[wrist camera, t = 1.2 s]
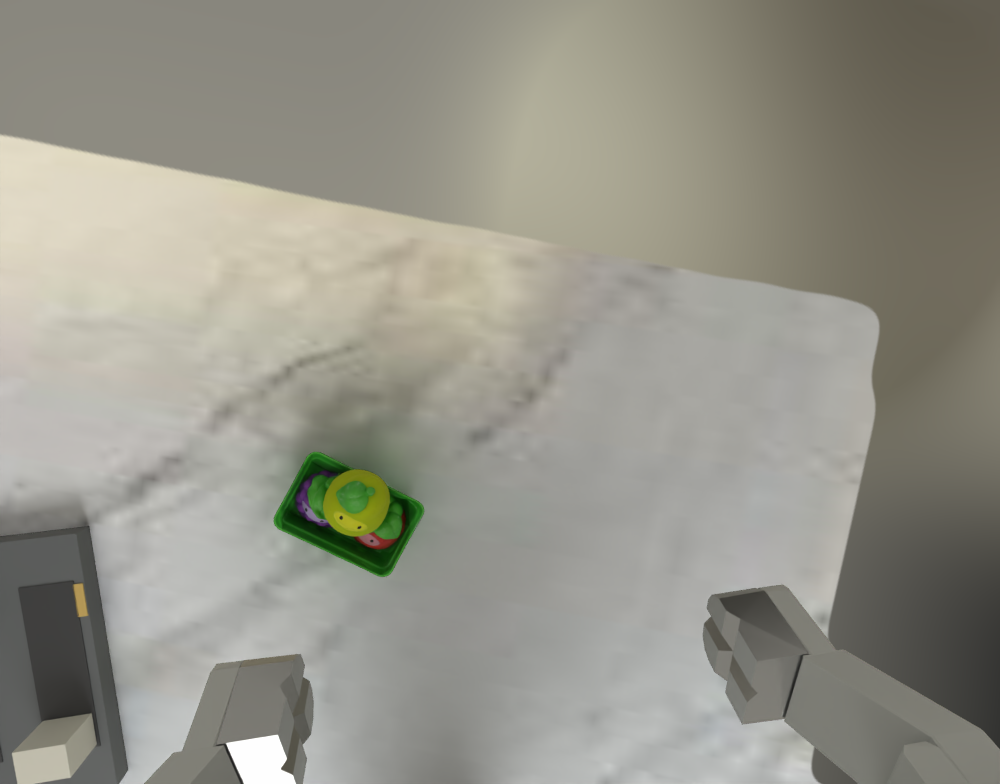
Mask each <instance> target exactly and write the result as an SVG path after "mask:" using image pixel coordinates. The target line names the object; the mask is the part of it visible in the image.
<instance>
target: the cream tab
mask: <svg viewBox="0 0 1000 784" xmlns="http://www.w3.org/2000/svg"><path fill="white" fill-rule="evenodd" d="M96 745H97V742H96V736H95V730H94V724H93V718H92V713H90V714H84V715H77V716H71V717H65V718H59V719H52V720H46V721H42V722H41V723H40V724H39V725H38V726H37V728H36V729H35V730H34V731H33V732H32V733H31V734H30V735H29V736H28V737H27V738H26V739H25V740H24V741H23V742H22V743H21V744H20V745H19V746H18V747H17V748H16V749H15V750H14V751H13V752H12V757H13V762H14V768H15V773H16V779H17V784H36V783H42V782H48V781H54V780H60V779H65V778H71V777H72V775H73V774H74V773H75V772H76V770H77V769H78V768H79V766H80V765H81V764H82V763H83V761H84V760H85V759H86V757H87V756H88V755H89V754H90V752H91V751H92V750H93V748H94V747H95V746H96Z"/></svg>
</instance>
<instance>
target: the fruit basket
mask: <svg viewBox="0 0 1000 784" xmlns="http://www.w3.org/2000/svg"><path fill="white" fill-rule="evenodd" d="M423 514H424V507H423V505H422V504H421V503H420V502H418V501H417V500H415V499H413V498H411V497H409V496H407V495H405V494H403V493H401V492H399V491H397V490H395V489H393V488H391V487H389V486H387V485H386V484H385V482H384V481H383V480H382V479H381V478H380V477H379V476H377V475H376V474H374V473H371V472H369V471H366V470H360V469H353V468H351V467H349V466H347V465H345V464H343V463H341V462H339V461H337V460H335V459H333V458H331V457H329V456H327V455H325V454H323V453H320V452H313V453H310V454H309V455H308V456H307V457H306V459H305V461H304V463H303V465H302V467H301V469H300V470H299V472H298V474H297V476H296V478H295V480H294V481H293V483H292V485H291V487H290V489H289V491H288V493H287V494H286V496H285V498H284V500H283V502H282V503H281V505H280V507H279V509H278V511H277V512H276V514H275V517H274V524H275V526H276V527H277V528H278V529H279V530H281V531H283V532H286V533H288V534H290V535H292V536H294V537H297V538H299V539H301V540H303V541H306V542H308V543H310V544H312V545H314V546H316V547H318V548H320V549H322V550H324V551H326V552H329V553H331V554H333V555H335V556H337V557H339V558H341V559H344V560H346V561H348V562H350V563H352V564H354V565H356V566H358V567H360V568H363V569H365V570H367V571H369V572H370V573H373V574H375V575H377V576H380V577H385V576H388V575H389V574H391V572H392V571H393V569H394V567H395V565H396V563H397V562H398V560H399V558H400V556H401V554H402V552H403V550H404V548H405V546H406V545H407V543H408V541H409V539H410V537H411V536H412V534H413V532H414V530H415V529H416V527H417V525H418V523H419V522H420V520H421V518H422V516H423Z"/></svg>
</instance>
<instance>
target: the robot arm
mask: <svg viewBox="0 0 1000 784" xmlns="http://www.w3.org/2000/svg"><path fill="white" fill-rule="evenodd" d="M707 610H708V612H709V613H710V615H711V617H710V618H709V619H708V620H707V621H706V622H705V623H704V628H703V642H704V648H705V652H706V654H707V657H708V660H709V662H710V664H711V666H712V668H713V670H714V672H715V673H716V674H718V675H719V676H721V677H722V678H724V679H725V680H726V681H727V685H726V691H725V693H726V695H727V697H728V699H729V701H730V703H731V705H732V706H733V708H734V710H735V712H736V714H737V716H738V718H739V720H740V721H741V723H742V724H749V723H757V722H764V721H772V720H779V719H785V720H784V722H786V723H787V724H788V725H789V726H790V727H792V728H793V729H794V730H795V731H796V732H798V733H799V734H800V735H801V736H802V737H804V738H805V739H806V740H807V741H808V742H810V743H811V744H812V745H813V746H814V747H815V748H817V749H818V750H819V751H820V752H821V753H823V754H824V755H825V756H826V757H828V758H829V759H830V760H831V761H832V762H834V763H835V764H836V765H837V766H838V767H839V768H841V769H842V770H843V771H844V772H845V773H847V774H848V775H849V776H850V777H851V778H852V779H854V780H855V781H856V782H857V783H858V784H1000V749H999V748H998V747H997V746H996V745H995V744H994V743H993V741H992V740H991V739H990V738H989V737H988V736H987V735H986V734H985V733H984V731H983V730H982V729H980V728H978V727H976V726H975V725H973V724H971V723H969V722H968V721H966V720H964V719H963V718H961V717H959V716H957V715H956V714H954V713H952V712H950V711H949V710H947V709H945V708H944V707H942V706H940V705H938V704H937V703H935V702H933V701H931V700H930V699H928V698H926V697H925V696H923V695H921V694H919V693H918V692H916V691H914V690H913V689H911V688H909V687H907V686H906V685H904V684H902V683H900V682H899V681H897V680H895V679H893V678H892V677H890V676H888V675H887V674H885V673H883V672H881V671H880V670H878V669H876V668H875V667H873V666H871V665H869V664H868V663H866V662H864V661H863V660H861V659H859V658H857V657H856V656H854V655H852V654H850V653H849V652H847V651H845V650H836V649H835V648H834V646H833V645H832V644H831V643H830V641H829V640H828V639H827V637H826V636H825V635H824V634H823V632H822V631H821V630H820V628H819V627H818V626H817V624H816V623H815V622H814V621H813V619H812V618H811V617H810V615H809V614H808V613H807V612H806V610H805V609H804V608H803V606H802V605H801V604H800V603H799V601H798V600H797V599H796V597H795V596H794V595H793V594H792V592H791V591H790V590H789V588H787V587H786V586H784V585H776V586H769V587H762V588H758V589H757V588H752V589H746V590H739V591H733V592H726V593H720V594H714V595H711V596H710V598H709V599H708V604H707ZM304 668H305V665H304V662H303V659H302V656H301V654H295V655H286V656H277V657H269V658H260V659H251V660H244V661H236V662H228V663H220V664H216V666H215V667H214V668H213V670H212V671H211V673H210V675H209V678H208V681H207V683H206V686H205V689H204V692H203V694H202V697H201V700H200V703H199V706H198V708H197V711H196V714H195V717H194V720H193V722H192V725H191V728H190V731H189V734H188V736H187V739H186V742H185V745H184V747H183V750H182V751H181V752H175V753H173V754H172V755H171V756H170V757H169V758H168V759H167V760H166V761H165V762H164V763H163V764H162V765H161V766H160V768H159V769H158V770H157V771H156V772H155V773H154V774H153V775H152V776H151V777H150V778H149V779H148V780H147V781H146V782H145V783H144V784H303V779H304V774H305V768H306V762H307V757H306V754H305V751H304V748H303V744H304V743H305V741H306V740H307V739H308V738H309V736H310V735H311V731H312V724H313V708H314V701H313V693H312V688H311V684H310V681H308V680H307V679H305V678H304V677H303V674H304Z"/></svg>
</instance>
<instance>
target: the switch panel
mask: <svg viewBox="0 0 1000 784" xmlns="http://www.w3.org/2000/svg"><path fill="white" fill-rule="evenodd" d="M90 713H92V718H93V724H94V730H95V736H96V742H97V745H96V746H95V747H94V748H93V750H92V751H91V752H90V754H89V755H88V756H87V757H86V759H85V760H84V761H83V763H82V764H81V765H80V766H79V768H78V769H77V770H76V772H75V773H74V774H73V775H72V777H71V778H65V779H60V780H54V781H48V782H42V783H36V784H119V783H120V781H121V780H122V778H123V777H124V775H125V774H126V772H127V771H128V767H127V761H126V754H125V748H124V742H123V736H122V729H121V723H120V717H119V711H118V704H117V698H116V692H115V686H114V679H113V673H112V667H111V661H110V654H109V648H108V642H107V636H106V629H105V623H104V617H103V611H102V604H101V598H100V592H99V586H98V579H97V573H96V567H95V561H94V554H93V548H92V542H91V536H90V529H89V526H87V527H78V528H70V529H61V530H52V531H44V532H35V533H27V534H18V535H10V536H1V537H0V784H17V779H16V773H15V768H14V762H13V757H12V752H13V751H14V750H15V749H16V748H17V747H18V746H19V745H20V744H21V743H22V742H23V741H24V740H25V739H26V738H27V737H28V736H29V735H30V734H31V733H32V732H33V731H34V730H35V729H36V728H37V726H38V725H39V724H40V723H41V722H42V721H46V720H52V719H59V718H65V717H71V716H77V715H84V714H90Z"/></svg>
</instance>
